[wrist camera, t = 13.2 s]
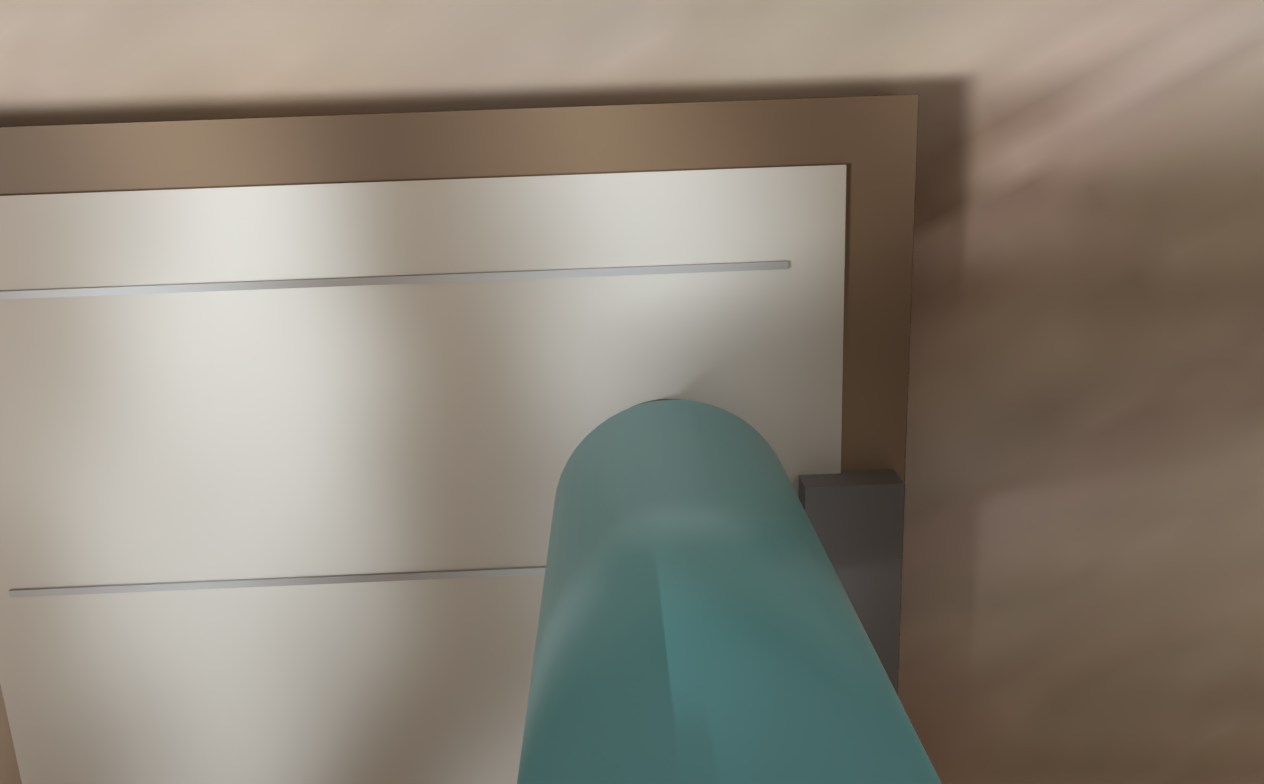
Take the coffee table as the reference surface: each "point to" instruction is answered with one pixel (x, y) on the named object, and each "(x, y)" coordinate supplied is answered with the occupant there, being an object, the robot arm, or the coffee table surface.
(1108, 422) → the coffee table surface
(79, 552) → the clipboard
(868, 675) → the cylinder
